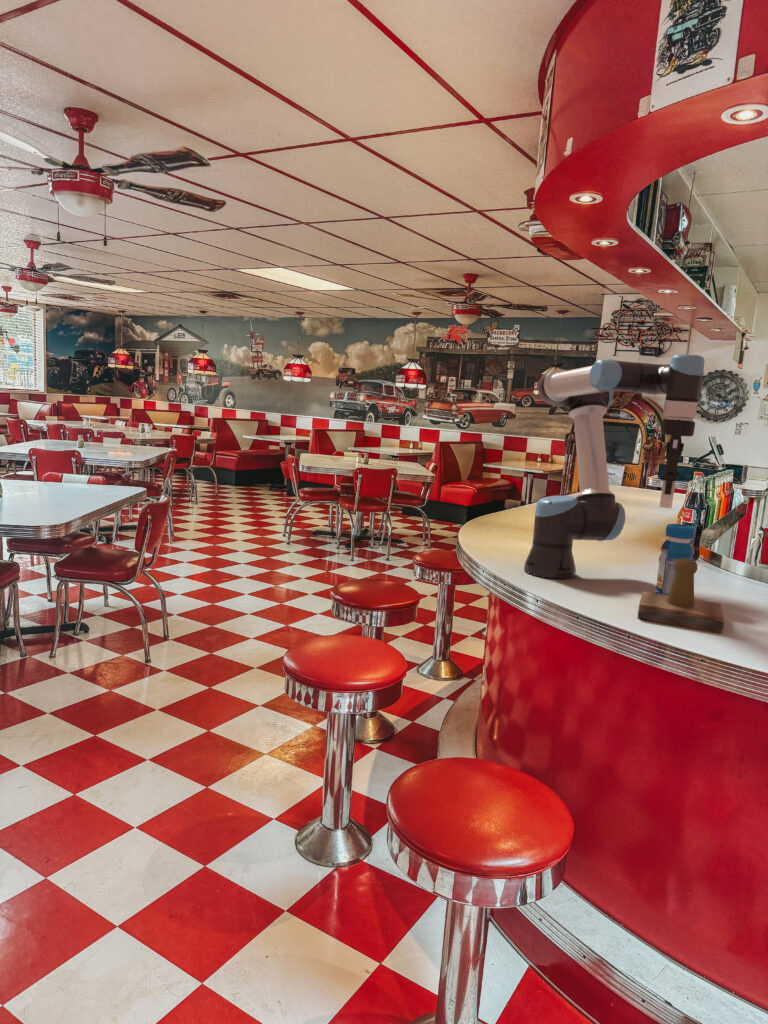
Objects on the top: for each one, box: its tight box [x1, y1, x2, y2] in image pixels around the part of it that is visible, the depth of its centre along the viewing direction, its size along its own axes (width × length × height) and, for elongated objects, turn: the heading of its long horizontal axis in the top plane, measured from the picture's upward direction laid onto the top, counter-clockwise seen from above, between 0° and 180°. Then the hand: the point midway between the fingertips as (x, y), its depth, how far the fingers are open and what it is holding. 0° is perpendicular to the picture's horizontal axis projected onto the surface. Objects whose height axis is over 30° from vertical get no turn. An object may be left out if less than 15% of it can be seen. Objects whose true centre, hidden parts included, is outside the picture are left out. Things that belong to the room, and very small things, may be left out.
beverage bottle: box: [654, 523, 695, 595], centre depth 172 cm, size 8×8×20 cm
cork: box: [667, 558, 699, 607], centre depth 155 cm, size 6×6×11 cm
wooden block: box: [637, 591, 725, 634], centre depth 155 cm, size 18×15×4 cm
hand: (666, 504), depth 162 cm, fingers open, 13 cm apart
